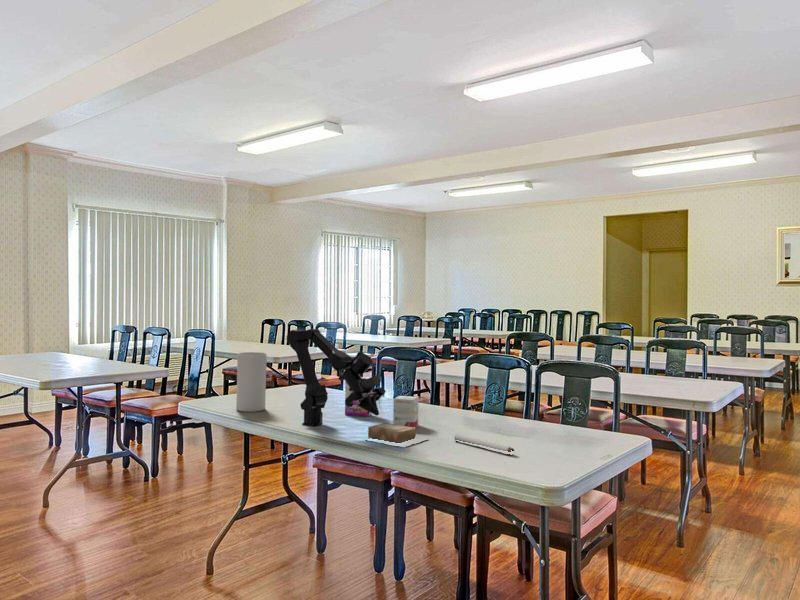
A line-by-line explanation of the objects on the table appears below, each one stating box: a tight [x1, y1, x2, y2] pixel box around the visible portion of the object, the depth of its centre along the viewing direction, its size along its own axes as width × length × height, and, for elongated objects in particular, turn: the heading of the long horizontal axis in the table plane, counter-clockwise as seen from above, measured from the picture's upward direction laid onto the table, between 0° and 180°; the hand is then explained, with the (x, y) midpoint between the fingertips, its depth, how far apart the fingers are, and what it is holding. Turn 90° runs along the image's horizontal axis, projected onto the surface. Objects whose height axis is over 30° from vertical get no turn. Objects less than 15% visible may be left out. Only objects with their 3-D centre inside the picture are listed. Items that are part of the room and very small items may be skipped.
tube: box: [453, 433, 515, 452], centre depth 213 cm, size 3×3×25 cm
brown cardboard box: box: [367, 422, 417, 443], centre depth 223 cm, size 4×10×14 cm
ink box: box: [392, 395, 419, 428], centre depth 246 cm, size 9×9×12 cm
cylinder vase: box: [235, 351, 268, 413], centre depth 272 cm, size 12×12×25 cm
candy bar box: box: [344, 376, 373, 417], centre depth 266 cm, size 11×5×16 cm, turn 76°
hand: (377, 414), depth 227 cm, fingers closed
